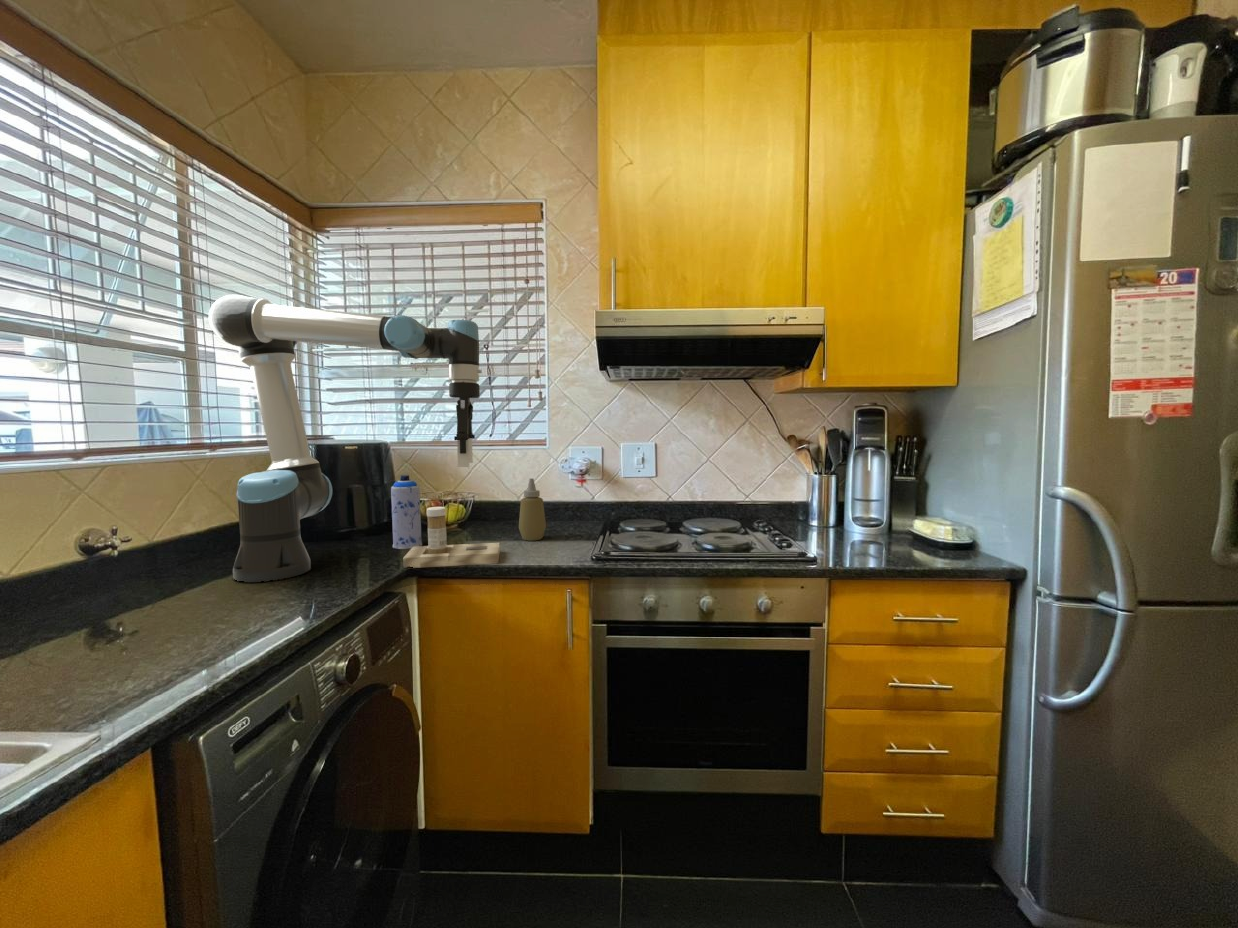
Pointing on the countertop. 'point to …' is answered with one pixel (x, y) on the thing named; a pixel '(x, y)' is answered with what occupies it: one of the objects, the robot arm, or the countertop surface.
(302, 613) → the countertop surface
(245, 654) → the countertop surface
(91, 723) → the countertop surface
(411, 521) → the aerosol can
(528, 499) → the squeeze bottle
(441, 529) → the sprinkles bottle
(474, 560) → the holder block
